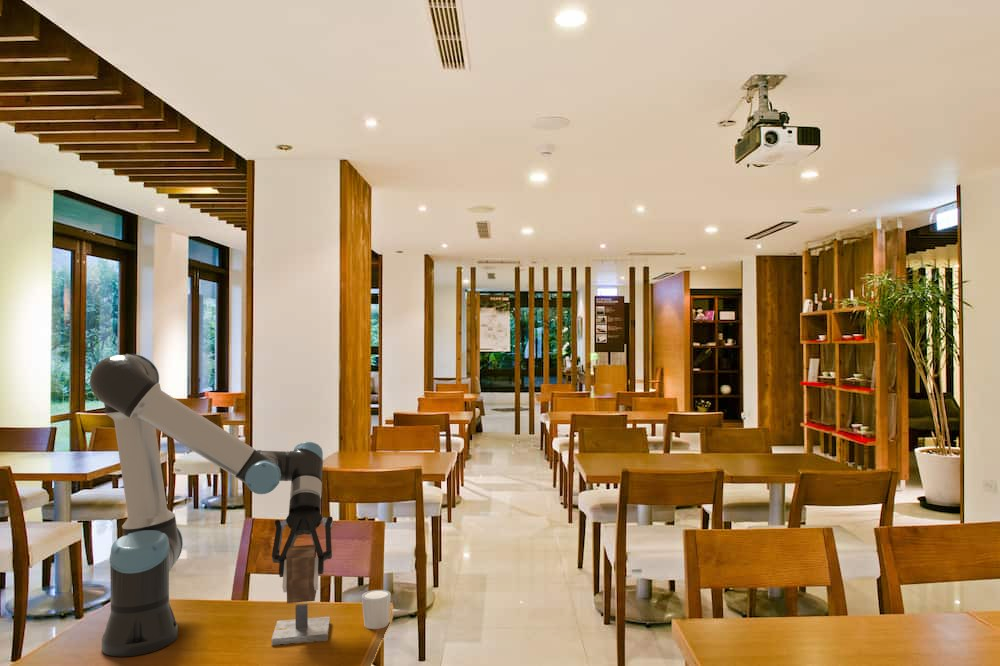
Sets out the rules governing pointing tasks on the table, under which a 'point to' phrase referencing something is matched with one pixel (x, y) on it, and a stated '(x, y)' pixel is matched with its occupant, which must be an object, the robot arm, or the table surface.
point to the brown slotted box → (300, 573)
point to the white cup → (376, 608)
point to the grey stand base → (301, 628)
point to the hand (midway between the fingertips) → (300, 588)
